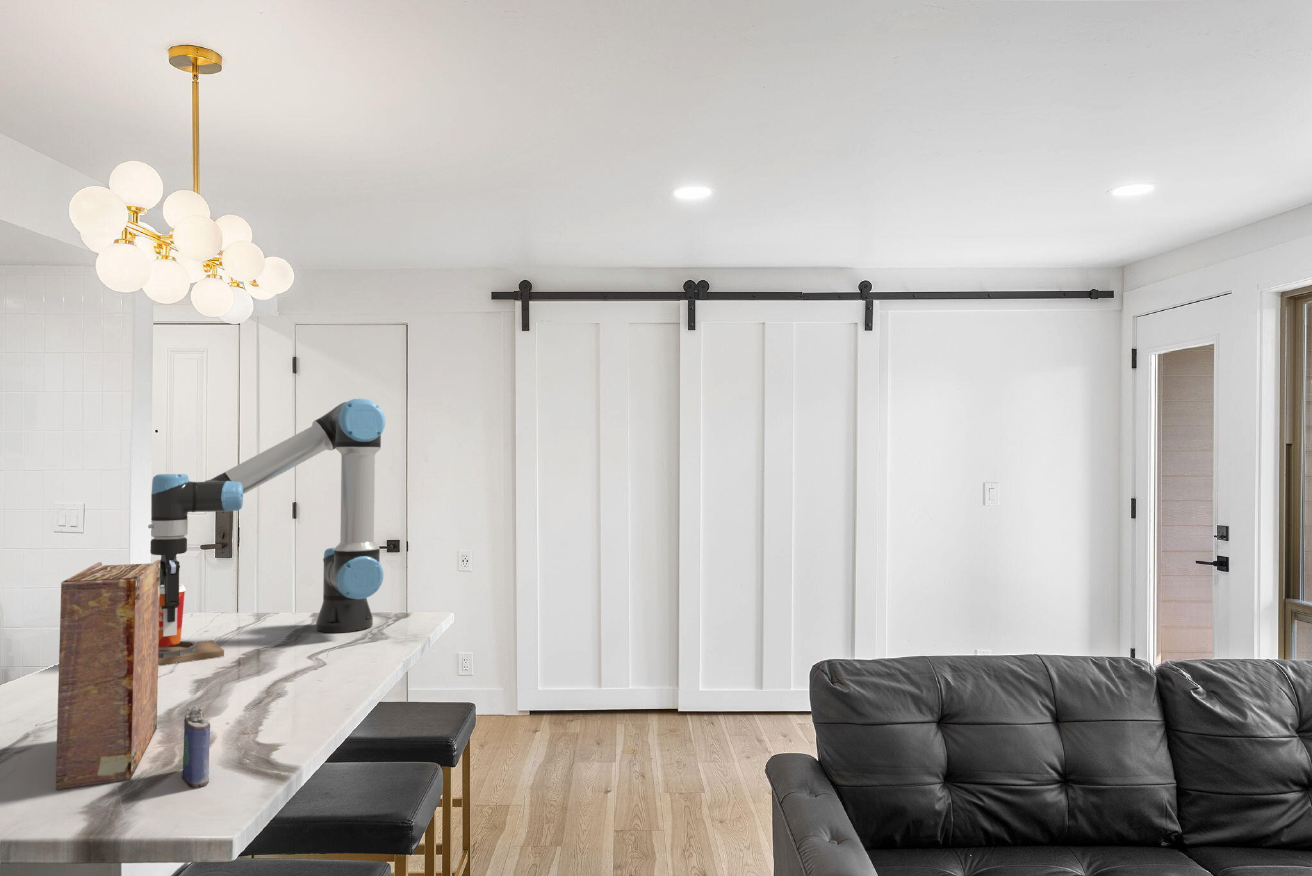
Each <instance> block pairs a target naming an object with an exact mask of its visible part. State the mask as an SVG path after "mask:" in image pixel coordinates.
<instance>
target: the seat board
mask: <svg viewBox="0 0 1312 876" xmlns="http://www.w3.org/2000/svg"><path fill="white" fill-rule="evenodd" d="M220 656H224V657H225V650H224V649H223V648H222V647H221V646H219V645H218V644H217V643H216V642H215V641H214V640H212V639H211V640H205V641H203V640H201V641H191V640H180V643H179V644H176V645H172V646H163V647H158V665H161V666H164V665H163V664H168V665H174V664H173V663H175V664H177V663H176V662H182V663H188V662H187V661H189V662H193V661H192V660H196V661H202V660H201V659H203V660H207V659H206V658H210V659H215V658H214V657H217V658H221V657H220Z"/></svg>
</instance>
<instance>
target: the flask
mask: <svg viewBox="0 0 1312 876" xmlns="http://www.w3.org/2000/svg"><path fill="white" fill-rule="evenodd" d="M203 708H204V706H203V705H202V706H201V707H198V706H197V705H194V706H188V707H187V712H186V713H185V715H184V722H183V723H184V725H183V727H184V728H183V731H184V732H183V754H182V755H183V756H182V772H181V779H182V780H183V781H184V783H185V784H186V785H187V786H188V787H190V788H192V789H200V788H202V787H207V785H208V784H209V782H210V776H209V775H210V743H211V742H210V737H211V736H210V735H211V723H210V722H209V721H208V720H207V719H205V718H204V711H203Z"/></svg>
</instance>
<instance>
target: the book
mask: <svg viewBox="0 0 1312 876" xmlns="http://www.w3.org/2000/svg"><path fill="white" fill-rule="evenodd" d="M160 560H161V559H157V560H155V561H154V562H153V563H151V562H149V563H133V564H132V563H131V564H130V563H129V564H111V565H110V564H109V565H107V564H105V565H103V563H102V561H101V562H100V561H99V562H96V563H95V564H93V565H90V566H89V567H87V568H85V569H83V570H82V571H80V572H78V573H76V574H75V575H73V576H70V577H69V578H67V579H65V580H63V581H61V583H60V613H59V614H60V616H59V622H60V623H59V649H58V652H59V653H58V655H59V656H58V685H57V687H58V689H57V693H58V694H57V698H58V699H57V718H56V719H57V725H56V755H55V757H56V759H55V760H56V761H55V791H58V790H64V789H66V790H67V789H72V788H80V787H86V786H92V785H98V784H99V785H102V784H107V783H113V782H121V781H127V780H131V779H132V778H133V776H134V774H135V772H136V770H137V768H138V766H139V764H140V762H141V760H142V758H143V756H144V754H145V753H146V751H147V748H148V746H149V744H150V742H151V740H152V739H153V737H154V734H155V733H156V731H157V727H158V689H159V688H158V686H159V685H158V683H159V681H158V680H159V666H158V647H159V602H160Z"/></svg>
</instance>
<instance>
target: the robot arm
mask: <svg viewBox="0 0 1312 876" xmlns="http://www.w3.org/2000/svg"><path fill="white" fill-rule="evenodd" d="M385 426H386V417H385V414H384V412H383V409H382V408H381V407H380V406H379V404H377V403H375V402H374V401H372V400H369V399H364V398H352V399H350V400H348V401H344V402H342V403H340V404H338V405H337V406H336V407H334V408H332V409H331V410H330V411H328V412H326V414H324V415H321V416H320V417H319V418H317V419H315V420H313V421H312V424H311V426H310V427H308V428H306V429H304V430H302V431H300V432H298V433H296V434H294V435H292V436H291V437H289V438H287V439H285V440H284V441H281V442H280V443H277V444H275V445H274V446H272V447H270V448H267V449H266V450H264V451H262V452H260V453H258V454H256V455H255V456H252V457H250V458H249V459H247V460H245V461H243V462H241V463H239V464H237V465H236V466H233V467H232V468H230V469H227V470H225V471H224V472H222V473H221V474H218V475H216V476H214V477H213V478H211V479H207V480H205V481H190V479H189V476H188V474H186V473H159V474H156V475H154V476H153V477H152V483H151V495H150V496H151V497H150V499H151V502H150V503H151V505H150V507H151V508H150V509H151V510H150V511H151V512H150V513H151V514H150V515H151V516H150V517H151V524H148V529H151V530H150V536H151V537H152V539H151V540H150V554H151V555H153V556H160V559H159V560H160V585H164V588H165V606H162V607H161V609H164V615H163V636H172V635H177V607H178V606H179V604H180V603H179V584H180V568H181V566H180V561H178V560H177V555H182V554H185V553H187V551H188V538H187V537H185V536H187V535H188V531H189V530H188V522H189V521H188V520H189V518H188V513H201V512H203V513H208V512H211V513H212V512H214V513H215V512H216V513H217V512H226V513H229V512H234V511H236V512H237V511H240V510H242V508H243V505H244V495H245V494H246V493H248V492H251V491H252V490H254V489H256V488H257V487H259V486H262V485H263V484H266V483H267V482H269V481H271V480H272V479H275V478H277V477H278V476H279V475H282V474H284V473H286V472H287V471H290V470H291V469H294V467H296V466H298V465H300V464H302V463H304V462H306V461H307V460H310V459H311V458H313V457H316V456H317V455H319V454H321V453H323V452H324V451H326V450H327V451H334V450H335V449H336V451H338V453H340V456H341V460H340V461H341V464H340V465H341V467H340V475H341V476H340V477H341V479H340V484H341V485H340V532H339V533H340V536H339V537H340V540H339V541H340V542H339V543H338V544H337V546H335V547H329V548H327V549H325V550H324V553H323V558H322V560H323V592H322V594H323V599H322V600H323V601H322V605H321V607H320V611H319V612H318V616H317V619H316V622H315V630H316V631H318V632H322V633H329V634H330V633H331V634H332V633H336V634H337V633H350V632H357V631H356V630H358V631H363V630H366V629H365V628H367V629H369V627H370V626H372V625H374V620H373V619H374V618H373V615H372V614H373V613H372V612H371V608H370V606H369V605H370V604H369V602H368V598H369V597H371V596H373V595H374V594H375V593H376V592H377V591H379V589H380V588H381V587H382V584H383V582H384V577H385V576H384V569H383V567H382V564H381V563H380V549H381V548H380V546H379V545H378V544H377V543H376V542H375V478H376V477H375V475H376V474H375V473H376V472H375V471H376V469H375V464H376V459H375V458H376V454H377V453H378V452H379V451H380V450H381V448H382V447H381V446H382V445H381V444H382V433H383V432H384V429H385ZM170 601H172V602H170ZM372 627H373V626H372ZM370 628H371V627H370ZM362 629H363V630H362Z"/></svg>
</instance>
